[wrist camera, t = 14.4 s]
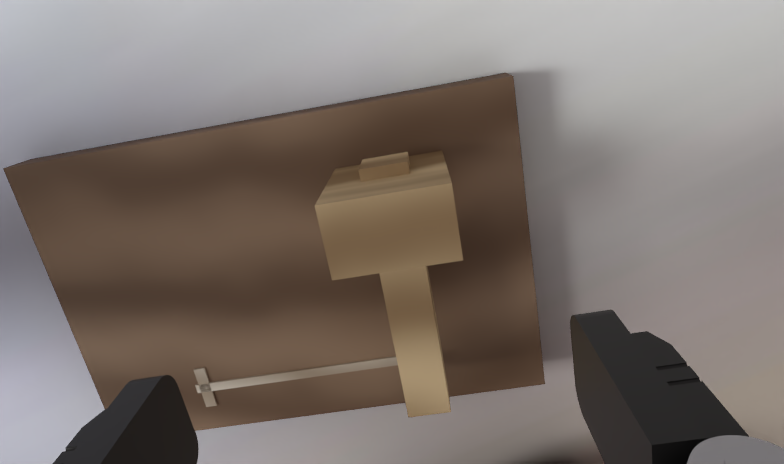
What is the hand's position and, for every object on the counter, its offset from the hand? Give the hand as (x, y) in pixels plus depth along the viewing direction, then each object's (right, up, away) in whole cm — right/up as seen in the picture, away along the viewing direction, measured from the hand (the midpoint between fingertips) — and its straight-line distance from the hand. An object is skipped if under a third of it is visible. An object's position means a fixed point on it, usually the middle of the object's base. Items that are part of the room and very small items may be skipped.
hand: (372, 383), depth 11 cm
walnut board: (-5, +1, +19) cm, 19 cm away
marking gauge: (+1, +1, +16) cm, 16 cm away
